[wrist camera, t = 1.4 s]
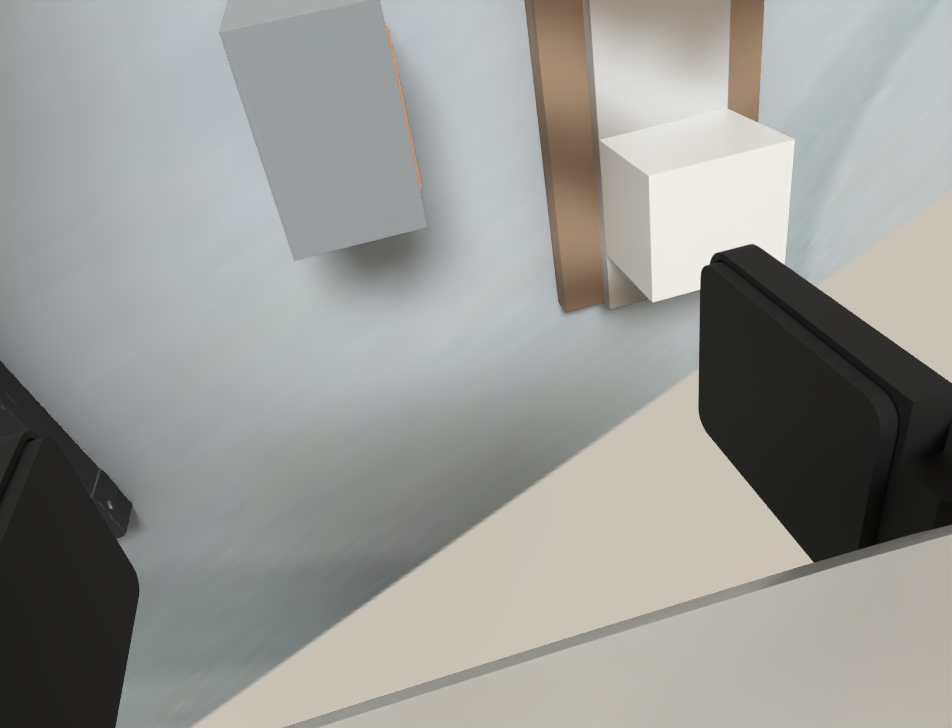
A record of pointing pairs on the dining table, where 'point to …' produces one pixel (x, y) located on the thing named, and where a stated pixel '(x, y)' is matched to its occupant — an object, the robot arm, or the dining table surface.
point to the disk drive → (15, 410)
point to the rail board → (626, 106)
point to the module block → (326, 119)
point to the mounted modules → (693, 197)
